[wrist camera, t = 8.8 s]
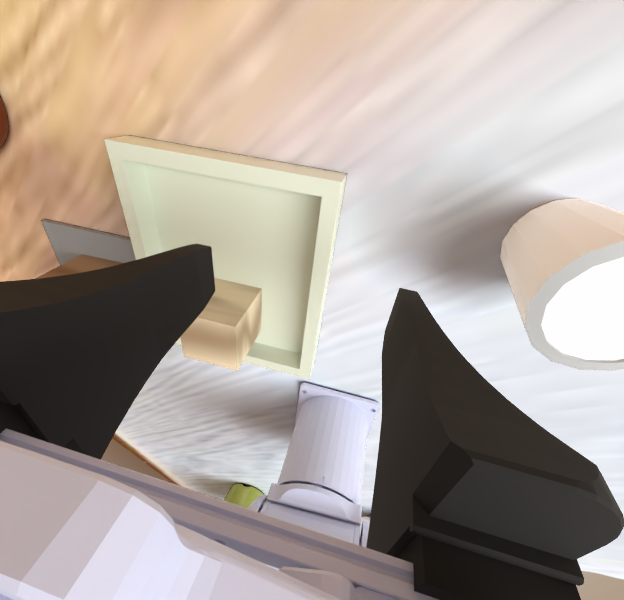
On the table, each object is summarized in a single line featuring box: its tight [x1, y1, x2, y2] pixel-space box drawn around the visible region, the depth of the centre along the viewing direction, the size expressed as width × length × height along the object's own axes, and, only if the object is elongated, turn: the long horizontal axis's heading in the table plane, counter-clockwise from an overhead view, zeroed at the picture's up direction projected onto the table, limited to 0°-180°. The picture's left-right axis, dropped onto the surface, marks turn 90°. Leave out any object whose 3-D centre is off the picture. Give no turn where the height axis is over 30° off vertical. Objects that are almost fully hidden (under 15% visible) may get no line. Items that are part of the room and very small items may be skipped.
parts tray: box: [104, 135, 347, 380], centre depth 24 cm, size 17×15×2 cm
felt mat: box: [41, 219, 136, 266], centre depth 29 cm, size 11×10×1 cm
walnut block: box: [36, 254, 123, 279], centre depth 26 cm, size 4×4×5 cm
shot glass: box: [500, 198, 624, 370], centre depth 15 cm, size 7×7×7 cm
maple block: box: [180, 278, 262, 371], centre depth 24 cm, size 4×4×5 cm
